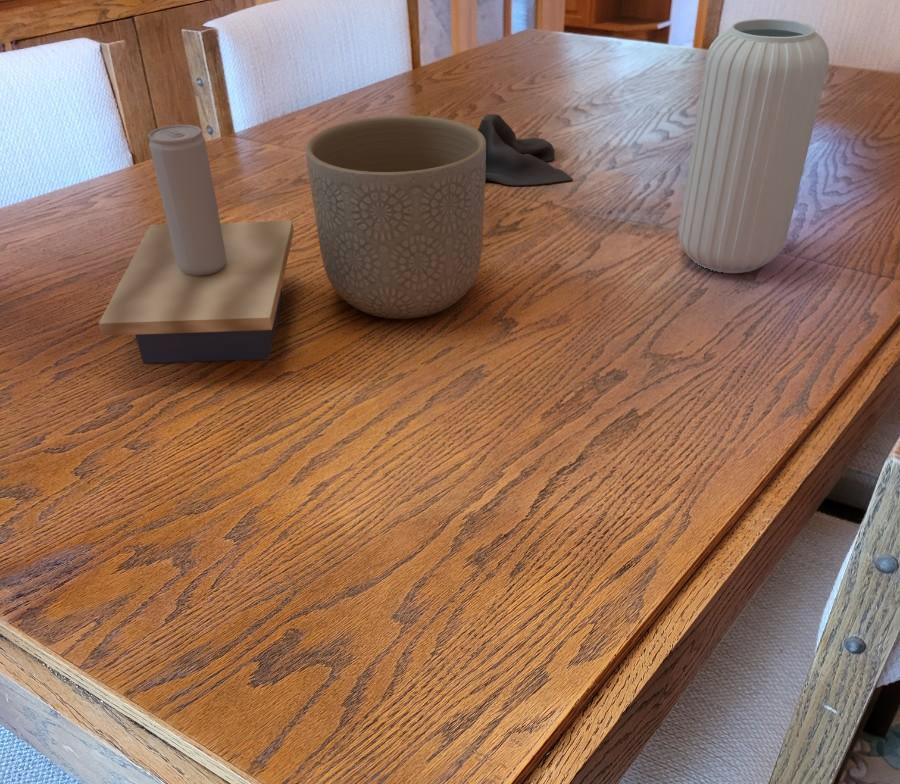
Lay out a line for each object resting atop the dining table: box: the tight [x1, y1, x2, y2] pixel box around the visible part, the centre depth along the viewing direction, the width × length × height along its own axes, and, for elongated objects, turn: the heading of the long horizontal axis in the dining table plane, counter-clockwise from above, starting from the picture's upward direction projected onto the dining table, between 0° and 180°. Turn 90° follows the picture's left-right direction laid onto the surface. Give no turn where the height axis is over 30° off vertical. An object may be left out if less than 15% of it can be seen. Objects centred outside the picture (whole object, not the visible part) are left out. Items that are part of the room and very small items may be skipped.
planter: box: [305, 114, 486, 320], centre depth 90 cm, size 17×17×15 cm
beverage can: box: [148, 123, 227, 276], centre depth 83 cm, size 5×5×12 cm
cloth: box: [477, 113, 573, 187], centre depth 122 cm, size 22×19×6 cm
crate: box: [134, 287, 284, 364], centre depth 89 cm, size 12×14×5 cm
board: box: [98, 220, 295, 336], centre depth 87 cm, size 15×22×1 cm
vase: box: [677, 18, 830, 274], centre depth 93 cm, size 12×12×22 cm
